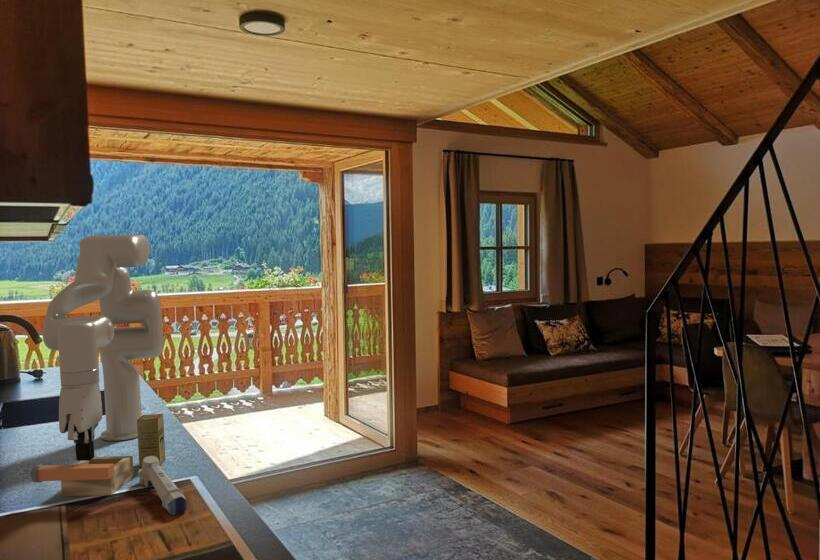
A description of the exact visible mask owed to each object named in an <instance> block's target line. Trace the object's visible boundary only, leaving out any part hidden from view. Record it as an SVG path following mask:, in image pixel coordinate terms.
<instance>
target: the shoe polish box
mask: <svg viewBox="0 0 820 560" xmlns="http://www.w3.org/2000/svg"><path fill="white" fill-rule="evenodd" d="M164 425H165V423H164V413H157V414H156V413H155V414H145V415H142V416H141V417H140V418H139V419H138V420H137V432H138V437H137V444H138V445H137V448H138V449H137V450H138V463H139V464H138V465H139V468H140V467H142V462H143V459H144V458H145V457H148V456H155V457H157V458H158V460H159V463H160V466H161V467H162V465H163V464H164V463H165V461H166V446H165V442H166V441H165V427H164ZM163 462H164V463H163ZM162 463H163V464H162Z"/></svg>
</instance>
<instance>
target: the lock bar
mask: <svg viewBox="0 0 820 560" xmlns="http://www.w3.org/2000/svg"><path fill="white" fill-rule="evenodd" d="M112 476H114V464H80V465H75V464H53V465H50V464H49V465H47V464H46V465H45V464H36V465H34V466H33V467H32V469H31V473H30V478H31V481H32V482H33V483H42V482H57V481H60V482H61V481H63V480H97V479H110V478H111V477H112Z"/></svg>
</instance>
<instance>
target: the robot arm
mask: <svg viewBox="0 0 820 560" xmlns="http://www.w3.org/2000/svg"><path fill="white" fill-rule="evenodd" d="M78 247H79V254H78V259H77V264H76V270H75V275H74V281H73V282H71V283H69V284H68V285H67V286H65V287H64V288H62V290H60V291H59V292H58V293H57V294H56V295H55V296H54V297H53V299H51V301H50V302H49V303H48V306H47V310H46V311H45V312H46V314H45V318H44V322H43V327H42V340H43V344H44V345H45V347H46V348H47V349H49V350H52V351H55V352H56V351H57V352H58V362H59V376H60V377H59V378H60V387H61V388H60V391H59V400H58V426H59V427H58V428H59V432H60V433H61V434H65V433H67V440H68V441H73V443H74V444H75V445H74V446H75V459H76V461H77V462H80V461H89V460H91V459H93V458H94V457H95V444H94V440H95V434H96V433H95V430H96V428H97V427H98V426H99V422H101V421H102V419H103V403H102V394H101V388H100V383H101V381H100V369H99V357H100V360H101V361H100V362H101V367H102V375H103V392H104V393H103V394H104V409H105V425H106V426H105V428H106V430H104V431H102V432H101V434H100V438H101V439H102V440H103V441H110V442H115V441H126V440H132V439H136V438H138V432H137V420H138V419H139V418H140V417H141V416H142V415H146V414H145V413H144V412H142V399H141V398H142V397H141V379H140V373H139V371H138V369H137V368H136V367H135V366H134V364H133V363H132V362H131V361H132V360H143V359H144V360H145V359H155V358H158V357H160V356H161V355H162V354H163V353H164V352H163V351H164V344H165V343H164V342H165V341H164V331H163V330H164V327H163V317H162V306H161V301H160V298H159V296H158V294H157V292H156V291H154V290H150V289H143V290H133V288H132V284H131V275H130V272H129V270H128V269H127V268H139V267H142V266H143V265H145V264H146V263H147V262H148V260H149V259H150V252H151V249H150V243H149V241H148V239H147V237H146V236H145V235H144V234H142V233H141V234H138V233H136V234H132V233H131V234H97V235H95V234H94V235H88V236H85V237H84V238H82V239H80V241H79V245H78ZM96 301H99V310H100V315H87V316H82V315H81V316H67V315H69V314H71V312H73V311H75V310H76V309H78V308H81V307H84V306H87V305H89V304H91V303H93V302H96ZM125 324H127V325H128V324H143V325H144V326H125V327H123V326H121V327H115V326H114V325H125Z"/></svg>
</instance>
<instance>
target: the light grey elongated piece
mask: <svg viewBox="0 0 820 560" xmlns="http://www.w3.org/2000/svg"><path fill="white" fill-rule="evenodd" d="M137 476H138V478H139V485H140V486H141V487H143V486H142V485H144V487H146V488H151V487H152V486H153V487H154V489H155V491H156V493H157V494H158V496H159V499H160V500H161V503H162V504H161V505H162V508H165V510H166V511H167V512H168V513H169V514H170V515H172V516H177V515H180V514H183V513H185V512H186V511H187V509H188V507H189V505H188V502H189V501H188V500H187V498H186V497H185V492H184V491H182V490H181V489H180V488H178V486H177V485H176V484H175V482H174V481H172V480H171V478H170V477H169V475H167V473H166V472H165V470H164V468H163V467H162V466H161V467H160V463H159V460H158V458H157V457H155V456H148V457H145V458H144V459H143V462H142V468H139V470H138V471H137Z"/></svg>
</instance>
